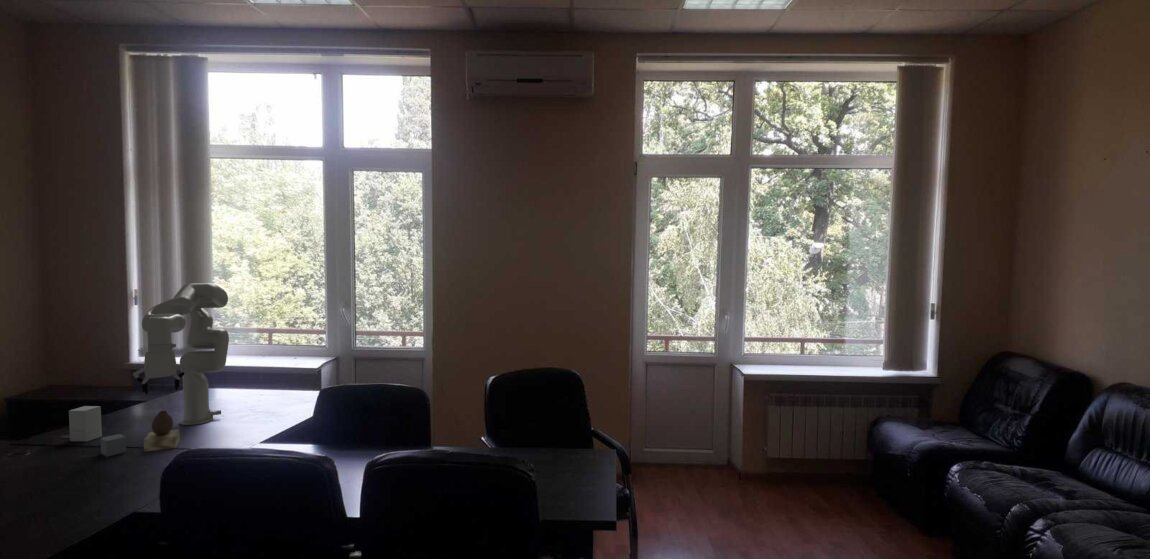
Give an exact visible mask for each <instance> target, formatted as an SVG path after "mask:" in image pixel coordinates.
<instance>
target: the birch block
mask: <svg viewBox="0 0 1150 559" xmlns="http://www.w3.org/2000/svg"><path fill="white" fill-rule="evenodd" d="M180 436H181V432H180V428H178V429H176V428H175V429H171V431H170V432H169V433H168V434H164V435H156V434H155V433H154V432H153V431H151V432H148V433H147V434H146V436H145V437H144V438H143V452H145V453H146V452H152V451H161V450H169V449H170V450H171V449H176V448H177V446H178V444H179V443H180V441H181V438H180Z"/></svg>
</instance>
